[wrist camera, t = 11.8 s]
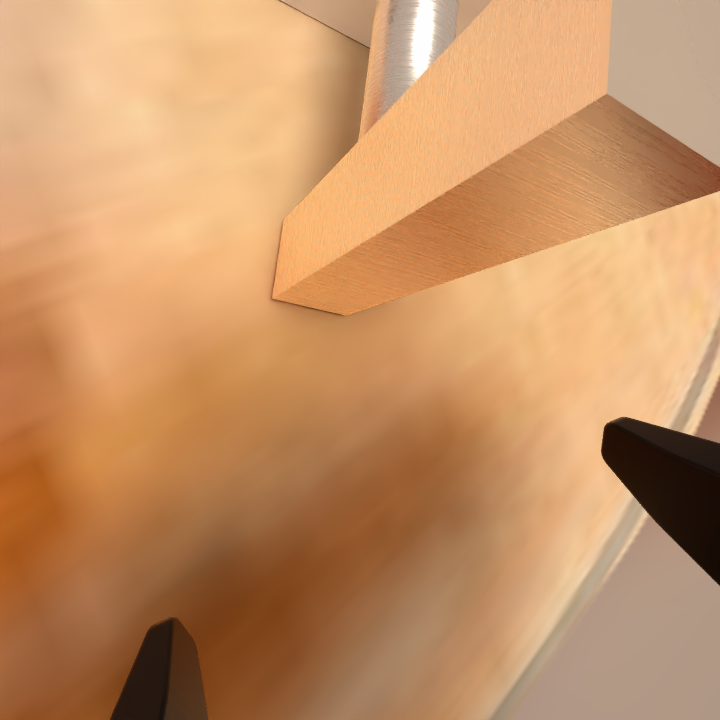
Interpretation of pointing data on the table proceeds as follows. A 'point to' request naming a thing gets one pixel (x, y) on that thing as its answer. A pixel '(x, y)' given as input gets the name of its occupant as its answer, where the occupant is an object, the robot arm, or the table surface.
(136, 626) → the table surface
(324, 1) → the block
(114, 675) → the table surface
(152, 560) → the table surface
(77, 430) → the table surface
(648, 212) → the grey piece
